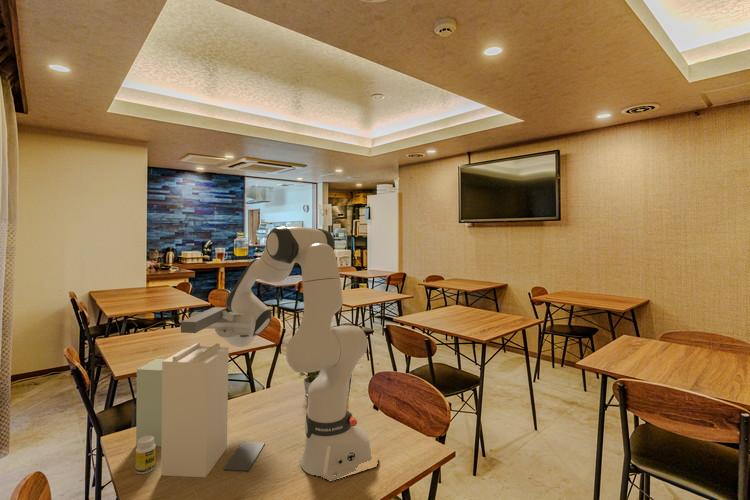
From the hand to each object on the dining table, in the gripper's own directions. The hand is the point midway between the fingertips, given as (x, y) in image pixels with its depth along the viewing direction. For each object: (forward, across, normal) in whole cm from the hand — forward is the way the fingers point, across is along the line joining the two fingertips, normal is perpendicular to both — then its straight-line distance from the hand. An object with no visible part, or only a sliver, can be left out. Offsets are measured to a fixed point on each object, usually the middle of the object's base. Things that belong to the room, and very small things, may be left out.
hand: (214, 313), depth 118 cm
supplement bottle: (-7, -12, +43) cm, 45 cm away
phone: (-14, +13, +39) cm, 44 cm away
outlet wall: (-11, 0, +40) cm, 42 cm away
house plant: (-52, +24, +17) cm, 59 cm away
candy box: (-39, +37, +24) cm, 59 cm away
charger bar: (+4, 0, +5) cm, 6 cm away
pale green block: (-21, -18, +35) cm, 44 cm away
